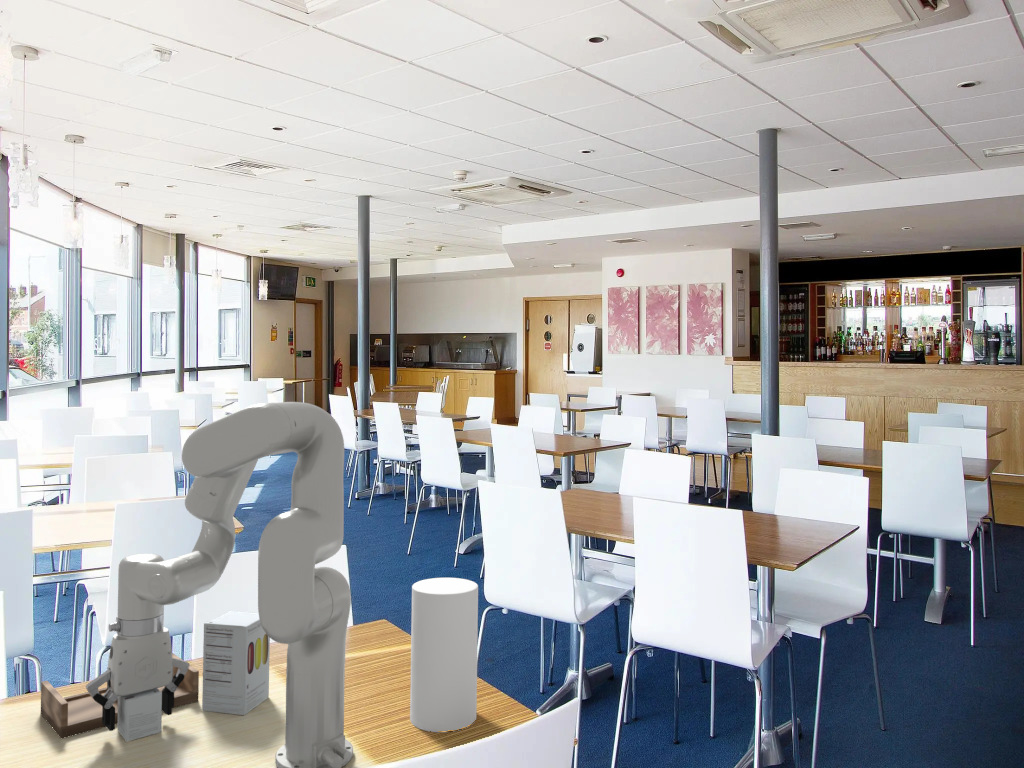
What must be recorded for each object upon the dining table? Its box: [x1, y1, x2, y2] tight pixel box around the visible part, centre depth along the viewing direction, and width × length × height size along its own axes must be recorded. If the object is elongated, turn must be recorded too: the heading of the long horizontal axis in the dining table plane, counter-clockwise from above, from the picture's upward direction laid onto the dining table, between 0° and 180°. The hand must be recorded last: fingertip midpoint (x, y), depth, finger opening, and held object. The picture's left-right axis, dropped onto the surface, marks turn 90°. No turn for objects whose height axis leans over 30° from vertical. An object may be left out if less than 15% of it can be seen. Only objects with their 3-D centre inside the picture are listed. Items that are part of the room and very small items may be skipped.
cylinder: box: [409, 577, 479, 733], centre depth 146 cm, size 12×12×25 cm
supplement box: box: [201, 610, 271, 716], centre depth 151 cm, size 10×9×17 cm
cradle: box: [40, 652, 200, 739], centre depth 149 cm, size 14×24×6 cm, turn 134°
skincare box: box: [117, 688, 163, 742], centre depth 139 cm, size 6×6×7 cm
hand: (138, 720), depth 139 cm, fingers open, 9 cm apart
